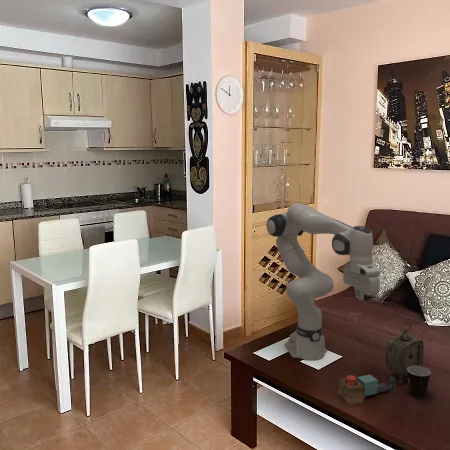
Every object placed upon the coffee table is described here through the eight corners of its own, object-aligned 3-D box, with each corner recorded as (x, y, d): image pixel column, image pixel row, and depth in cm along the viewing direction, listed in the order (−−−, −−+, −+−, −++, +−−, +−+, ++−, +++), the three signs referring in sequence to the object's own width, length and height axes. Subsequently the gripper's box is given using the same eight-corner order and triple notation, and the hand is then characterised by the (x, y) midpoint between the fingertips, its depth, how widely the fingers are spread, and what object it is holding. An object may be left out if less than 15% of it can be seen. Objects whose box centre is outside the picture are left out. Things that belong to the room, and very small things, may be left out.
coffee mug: (410, 386, 193) (411, 363, 192) (431, 392, 188) (433, 369, 186) (400, 398, 185) (401, 374, 183) (423, 405, 179) (424, 381, 177)
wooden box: (338, 395, 187) (339, 379, 186) (351, 392, 189) (351, 376, 188) (350, 405, 180) (350, 389, 179) (363, 402, 182) (363, 386, 181)
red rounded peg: (344, 389, 185) (344, 376, 184) (352, 387, 186) (352, 374, 185) (349, 393, 182) (350, 380, 181) (357, 392, 183) (357, 378, 182)
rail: (355, 394, 187) (355, 381, 186) (389, 387, 193) (390, 373, 192) (361, 399, 184) (361, 385, 183) (396, 392, 189) (396, 378, 188)
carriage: (356, 390, 188) (357, 377, 187) (369, 387, 190) (369, 374, 189) (364, 396, 183) (364, 382, 182) (377, 393, 185) (377, 380, 184)
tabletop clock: (401, 386, 193) (403, 329, 189) (383, 377, 201) (385, 323, 197) (422, 376, 201) (425, 322, 197) (404, 368, 209) (406, 315, 204)
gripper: (339, 261, 197) (339, 292, 199) (369, 273, 178) (368, 307, 180) (352, 260, 199) (351, 291, 202) (383, 271, 180) (382, 305, 182)
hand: (359, 299), depth 191 cm, fingers closed
